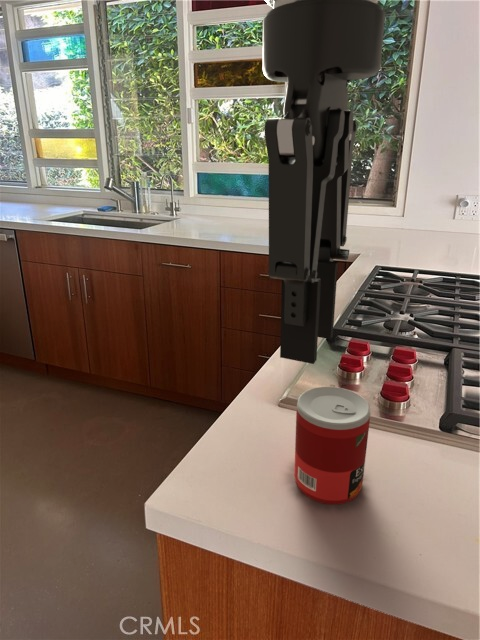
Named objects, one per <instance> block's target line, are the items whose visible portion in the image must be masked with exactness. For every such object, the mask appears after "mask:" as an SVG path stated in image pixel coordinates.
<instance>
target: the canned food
mask: <svg viewBox="0 0 480 640" xmlns="http://www.w3.org/2000/svg"><path fill="white" fill-rule="evenodd" d="M370 420H371V407H370V404H369V402H368V401H367V400H366V398H365V397H363V396H362V395H361V394H358V393H356V392H355V391H353V390H350V389H347V388H343V387H337V386H317V387H313V388H310V389H309V388H308V389H307V390H305V391H304V392H302V393H300V395H299V396H298V398H297V403H296V414H295V439H294V440H295V442H294V443H295V444H294V446H295V447H294V473H293V475H294V480H295V483H296V485H297V488H298V489H299V491H300V492H301V493H302V494H303V495H305V496H306V497H307V498H309V499H311V500H313V501H315V502H317V503H319V504H320V503H321V504H326V505H342V504H347V503H349V502H351V501H353V500H354V499H355V498H356V497H358V495H359V493H360V491H361V490H362V488H363V481H364V473H365V465H366V456H367V448H368V440H369V439H368V438H369V430H370V423H371V422H370Z"/></svg>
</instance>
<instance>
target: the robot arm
mask: <svg viewBox="0 0 480 640" xmlns="http://www.w3.org/2000/svg"><path fill="white" fill-rule="evenodd" d="M264 1H265V2H266V3H267V5H268V6H269V7H271V9H269V11H268V12H267V13H266V15H265V16H264V17H263V19H262V72H263V75H264V76H265V77H266V79H268V80H270V81H272V82H273V81H274V82H279V83H287V85H286V93H285V98H284V102H283V112H282V113H281V117H278V118H277V117H274V118H272V117H271V118H266V120H265V123H264V139H265V146H266V154H267V161H268V270H267V275H268V278H269V279H275V280H276V279H277V280H281V291H280V293H281V295H280V297H281V299H280V344H279V347H280V348H279V351H280V352H279V358H281V359H285V360H291V361H297V362H300V363H306V364H312V365H314V364H315V363H316V362H317V358H318V343H319V341H318V340H319V338H322V339H327V340H331V339H332V338H333V336H334V326H335V311H336V296H337V283H338V281H337V280H338V269H339V265H338V264H339V261H348V259H349V256H350V249H348V248H347V249H346V248H341V247H345V245H346V244H347V229H348V228H347V227H348V216H349V215H348V214H349V202H350V193H351V192H350V191H351V180H352V179H351V178H352V177H351V176H352V165H353V153H354V146H355V140H356V135H357V134H356V133H357V131H358V123H357V119H356V118H354V111H353V109H349V101H348V99H349V97H348V94H349V93H348V85H349V84H348V83H350V82H351V81H353V80H364V79H369V78H372V77H374V76H376V74H378V72H379V71H380V69H381V64H382V54H383V45H384V44H383V41H384V31H385V21H386V20H385V19H386V12H385V11H384V10H383V8H382V6H381V5H380V4H378V2H380V1H381V0H264ZM334 260H339V261H334Z"/></svg>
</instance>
